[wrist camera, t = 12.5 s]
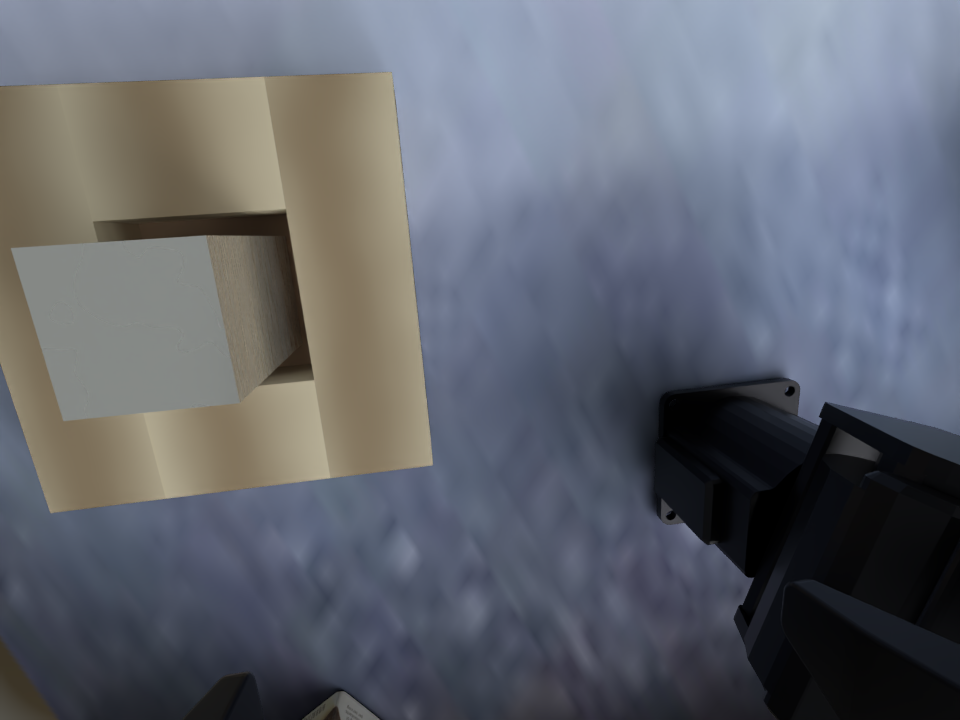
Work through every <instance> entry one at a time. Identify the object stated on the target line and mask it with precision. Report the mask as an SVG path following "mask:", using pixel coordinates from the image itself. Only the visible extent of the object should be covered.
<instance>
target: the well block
mask: <svg viewBox="0 0 960 720" xmlns="http://www.w3.org/2000/svg"><path fill="white" fill-rule="evenodd" d="M204 235H216V236H285V237H286V243H287V249H288V255H289V261H290V267H291V273H292V280H293V286H294V292H295V298H296V304H297V310H298V316H299V323H300V329H301V335H302V341H303V344H302V345H300V346H299V347H298V348H297V349H296V350H295V351H294V352H293V353H292V354H291V355H290V356H289V357H288V358H287V359H286V360H285V361H284V362H283V363H282V364H280V365H279V366H278V367H277V368H276V369H275V370H274V371H273V372H272V373H271V374H270V375H269V376H268V377H267V378H266V379H265V380H264V381H263V382H262V383H261V384H259V385H258V386H257V387H256V388H255V389H254V390H253V391H252V392H251V393H250V394H249V395H248V396H247V397H246V398H245V399H244V400H243V401H242V402H241V403H237V404H227V405H217V406H207V407H197V408H188V409H178V410H168V411H158V412H148V413H138V414H129V415H119V416H109V417H99V418H89V419H79V420H70V421H63V418H62V415H61V412H60V408H59V405H58V402H57V399H56V395H55V392H54V389H53V385H52V382H51V379H50V376H49V372H48V369H47V366H46V362H45V359H44V356H43V353H42V349H41V346H40V343H39V339H38V336H37V333H36V330H35V326H34V323H33V320H32V316H31V313H30V310H29V307H28V303H27V300H26V297H25V293H24V290H23V287H22V284H21V280H20V277H19V274H18V271H17V267H16V264H15V261H14V257H13V254H12V251H11V248H19V247H34V246H50V245H65V244H81V243H96V242H112V241H127V240H143V239H158V238H174V237H189V236H204ZM0 364H1V367H2V370H3V373H4V376H5V379H6V382H7V385H8V388H9V391H10V394H11V397H12V400H13V403H14V406H15V409H16V412H17V415H18V418H19V421H20V424H21V427H22V430H23V433H24V436H25V439H26V442H27V445H28V448H29V451H30V454H31V456H32V459H33V462H34V465H35V468H36V471H37V474H38V477H39V480H40V483H41V486H42V489H43V492H44V495H45V498H46V501H47V504H48V507H49V510H50V513H55V512H63V511H71V510H79V509H87V508H95V507H103V506H111V505H119V504H127V503H135V502H143V501H151V500H159V499H167V498H175V497H183V496H191V495H199V494H207V493H215V492H223V491H231V490H239V489H247V488H255V487H263V486H271V485H279V484H287V483H295V482H303V481H311V480H319V479H327V478H335V477H343V476H351V475H359V474H367V473H375V472H383V471H391V470H399V469H407V468H415V467H423V466H431V465H433V460H432V448H431V436H430V426H429V416H428V406H427V397H426V387H425V378H424V368H423V359H422V349H421V339H420V330H419V320H418V311H417V301H416V292H415V282H414V272H413V263H412V253H411V244H410V234H409V225H408V215H407V205H406V196H405V186H404V177H403V167H402V158H401V148H400V138H399V129H398V119H397V110H396V100H395V93H394V85H393V78H392V72H382V73H354V74H326V75H299V76H271V77H243V78H216V79H188V80H160V81H132V82H105V83H77V84H49V85H22V86H0Z"/></svg>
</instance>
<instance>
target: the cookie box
mask: <svg viewBox="0 0 960 720" xmlns="http://www.w3.org/2000/svg"><path fill="white" fill-rule="evenodd" d="M302 720H380V719H379V718H378V717H376V716H375V715H374V714H373V713H371V712H370V711H369V710H368V709H366V708H365V707H364V706H363V705H361V704H360V703H359V702H358V701H356V700H355V699H354V698H352V697H351V696H350V695H349V694H347V693H346V692H344V691H340V692H336V693H335V694H334V695H332V696H331V697H330V698H328V699H327V700H326V701H325V702H323V703H322V704H321V705H320V706H318V707H317V708H316V709H315V710H313V711H312V712H311V713H310V714H308V715H307V716H306V717H304V718H303V719H302Z"/></svg>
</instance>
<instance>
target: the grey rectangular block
mask: <svg viewBox="0 0 960 720" xmlns="http://www.w3.org/2000/svg"><path fill="white" fill-rule="evenodd" d="M11 251H12V254H13V257H14V261H15V264H16V267H17V271H18V274H19V277H20V280H21V284H22V287H23V290H24V293H25V297H26V300H27V303H28V307H29V310H30V313H31V316H32V320H33V323H34V326H35V330H36V333H37V336H38V339H39V343H40V346H41V349H42V353H43V356H44V359H45V362H46V366H47V369H48V372H49V376H50V379H51V382H52V385H53V389H54V392H55V395H56V399H57V402H58V405H59V408H60V412H61V415H62V418H63V421H70V420H79V419H89V418H99V417H109V416H119V415H129V414H138V413H148V412H158V411H168V410H178V409H188V408H197V407H207V406H217V405H227V404H237V403H241V402H242V401H243V400H244V399H245V398H246V397H247V396H248V395H249V394H250V393H251V392H252V391H253V390H254V389H255V388H256V387H257V386H258V385H259V384H261V383H262V382H263V381H264V380H265V379H266V378H267V377H268V376H269V375H270V374H271V373H272V372H273V371H274V370H275V369H276V368H277V367H278V366H279V365H280V364H282V363H283V362H284V361H285V360H286V359H287V358H288V357H289V356H290V355H291V354H292V353H293V352H294V351H295V350H296V349H297V348H298V347H299V346H300V345H302V344H303V341H302V335H301V329H300V323H299V316H298V310H297V304H296V298H295V292H294V286H293V280H292V273H291V267H290V261H289V255H288V249H287V243H286V237H285V236H216V235H204V236H189V237H174V238H158V239H143V240H127V241H112V242H96V243H81V244H65V245H50V246H34V247H19V248H11Z"/></svg>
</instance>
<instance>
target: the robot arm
mask: <svg viewBox="0 0 960 720" xmlns="http://www.w3.org/2000/svg"><path fill="white" fill-rule="evenodd" d="M787 387H789V388H788V391H787V392H786V393H785V389H786V388H787ZM799 396H800V386H799V384H798V383H797V382H795V381H793V380H790V379H787V378H783V379H774V380H765V381H756V382H748V383H739V384H730V385H721V386H713V387H704V388H695V389H686V390H678V391H670V392H667V393H665V394H664V395H663V396H662V398H661V399H660V408H659V438H658V439H657V441H656V443H655V476H654V490H655V492H656V493H657V515H658V517H659V518H660V519H661V520H662V522H663V523H665V524H667V525H672V524H679V523H685V524H686V525H687V526H688V527H689V528H690V529H691V530H692V531H693V532H694V533H695V534H696V535H697V536H698V537H699V538H700V540H702V541H703V542H704V543H705V544H707V545H711V544H715V545H716V546H717V547H718V548H719V549H720V550H721V551H722V552H723V553H724V554H725V555H726V556H727V557H728V558H729V559H730V560H731V561H732V562H733V563H734V564H735V565H736V566H737V567H738V568H739V569H740V570H741V571H742V572H743V573H744V574H745V575H746V576H747V577H749V578H753V577H754V580H753V582H752V584H751V587H750V589H749V591H748V594H747V596H746V598H745V601H744V603H743V605H739V606H738V609H737V611H736V613H735V616H734V621H735V623H736V626H737V628H738V630H739V633H740V635H741V637H742V639H743V642H744V644H745V647H746V652H747V658H748V660H749V662H750V663H751V665H752V667H753V669H754V670H755V672H756V674H757V676H758V677H759V679H760V681H761V683H762V685H763V687H764V690H765V693H764V696H763V699H764V702H765V704H766V705H767V707H768V709H769V711H770V712H771V713H772V715H773V716H774V717H775V718H776V719H777V720H960V436H959V435H956V434H953V433H950V432H947V431H944V430H941V429H938V428H934V427H931V426H927V425H922V424H918V423H914V422H910V421H905V420H901V419H897V418H893V417H888V416H884V415H880V414H875V413H871V412H867V411H863V410H858V409H854V408H850V407H845V406H841V405H837V404H833V403H828V402H825V403H824V406H823V408H822V411H821V413H820V415H819V417H820V418H822V420H821V422H820V425H819V426H818V425H816V424H814V423H812V422H810V421H807V420H805V419H803V418H801V417H799V416H797V415H798V405H799ZM674 399H675V400H676V402H675V405H674V406H672V407H670V406H669V405H670V402H671V401H672V400H674ZM671 510H672V512H671V513H670V514H669V515H667V516H666V514H667V513H668V512H669V511H671ZM182 720H263V710H262V706H261V701H260V697H259V693H258V689H257V685H256V680H255V677H254V675H253V674H252V673H251V672H248V671H247V672H241V673H235V674H229V675H225V676H224V677H222V678H221V679H220V680H219V681H218V682H217V683H216V684H215V685H214V686H213V687H212V688H211V689H210V690H209V691H208V692H207V693H206V694H205V695H204V697H203V698H202V699H201V700H200V701H199V702H198V703H197V704H196V705H195V706H194V707H193V708H192V709H191V710H190V711H189V713H188V714H187V715H186V716H185V717H184V718H183V719H182Z"/></svg>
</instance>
